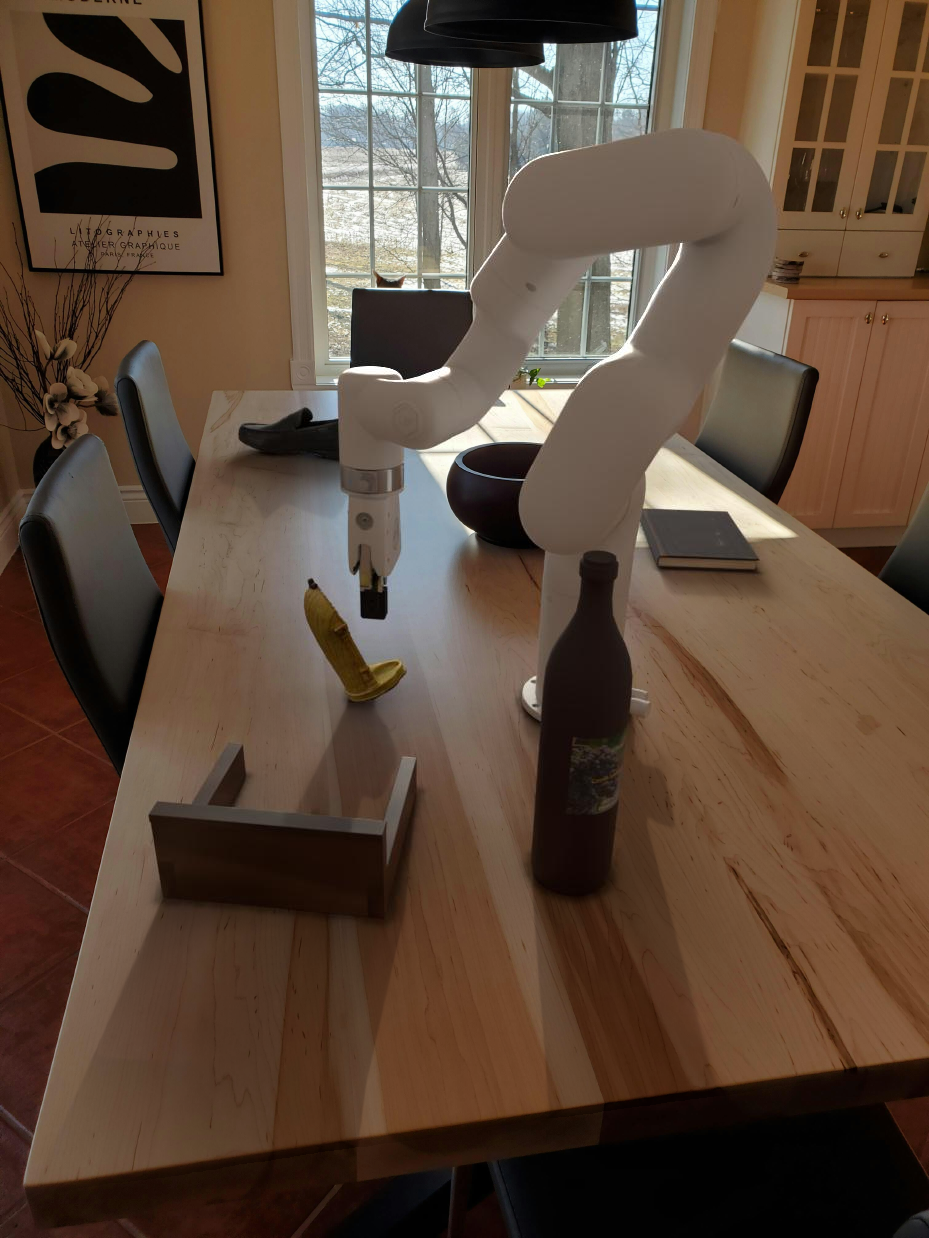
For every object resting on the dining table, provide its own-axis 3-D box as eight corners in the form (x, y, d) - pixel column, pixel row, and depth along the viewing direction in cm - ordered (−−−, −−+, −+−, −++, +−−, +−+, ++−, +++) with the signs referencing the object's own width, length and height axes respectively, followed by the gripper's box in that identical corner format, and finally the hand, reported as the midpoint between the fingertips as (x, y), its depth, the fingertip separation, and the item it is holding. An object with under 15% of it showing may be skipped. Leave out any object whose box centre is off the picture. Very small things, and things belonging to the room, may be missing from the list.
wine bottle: (554, 906, 76) (582, 580, 63) (516, 854, 82) (535, 546, 68) (625, 884, 78) (667, 567, 65) (584, 835, 84) (614, 535, 71)
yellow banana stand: (304, 714, 102) (297, 594, 96) (313, 679, 109) (306, 565, 103) (406, 714, 103) (405, 595, 96) (407, 679, 110) (407, 566, 103)
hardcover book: (725, 523, 164) (727, 511, 163) (757, 572, 143) (759, 559, 142) (637, 520, 164) (639, 508, 163) (656, 568, 144) (658, 555, 143)
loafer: (248, 443, 206) (244, 398, 201) (372, 450, 202) (371, 405, 198) (231, 455, 196) (227, 408, 192) (361, 463, 193) (359, 415, 189)
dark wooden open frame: (232, 775, 91) (224, 700, 88) (416, 790, 90) (416, 715, 86) (161, 898, 76) (147, 814, 72) (384, 919, 74) (382, 835, 70)
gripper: (392, 498, 99) (392, 646, 107) (413, 461, 112) (412, 594, 120) (325, 494, 99) (330, 641, 108) (354, 457, 113) (357, 590, 121)
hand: (374, 616), depth 114 cm, fingers closed
